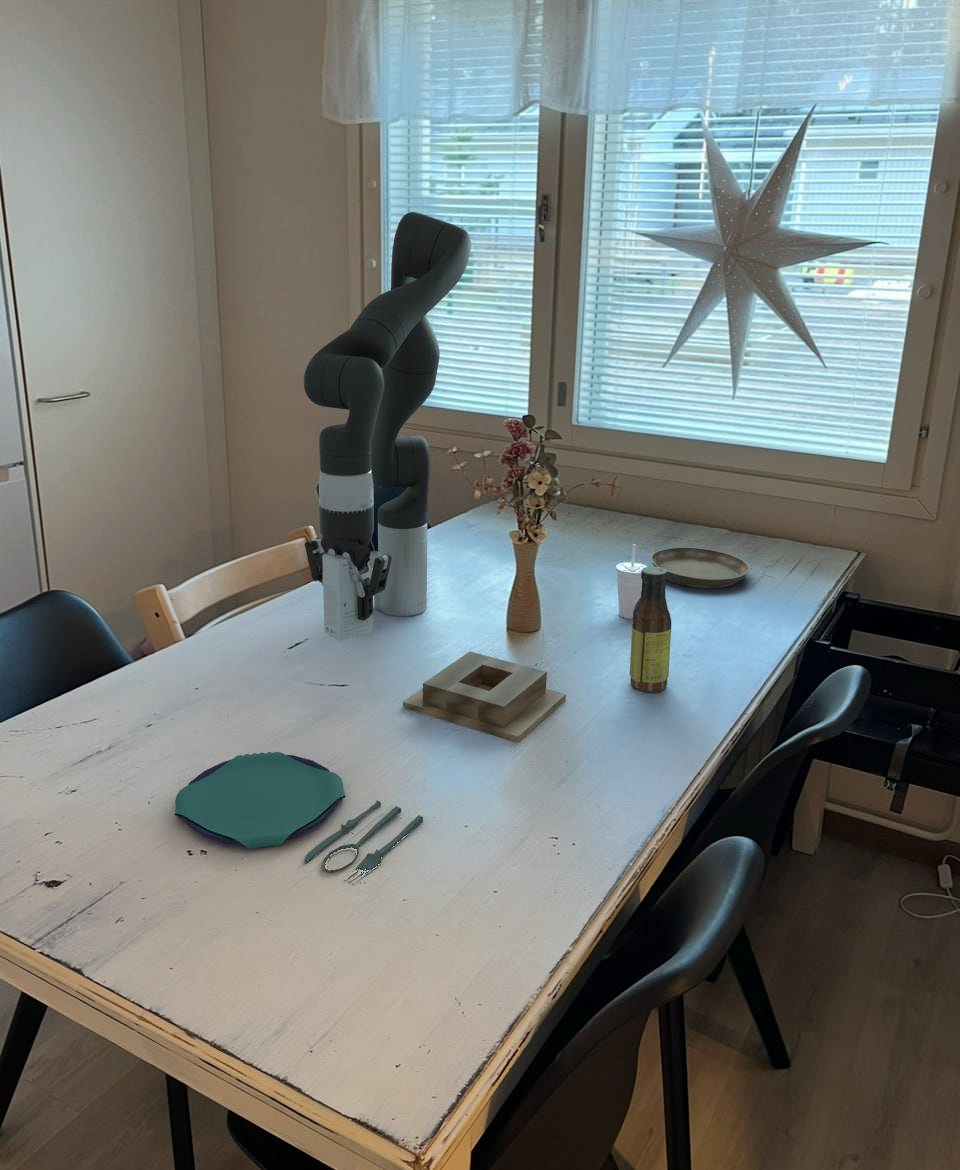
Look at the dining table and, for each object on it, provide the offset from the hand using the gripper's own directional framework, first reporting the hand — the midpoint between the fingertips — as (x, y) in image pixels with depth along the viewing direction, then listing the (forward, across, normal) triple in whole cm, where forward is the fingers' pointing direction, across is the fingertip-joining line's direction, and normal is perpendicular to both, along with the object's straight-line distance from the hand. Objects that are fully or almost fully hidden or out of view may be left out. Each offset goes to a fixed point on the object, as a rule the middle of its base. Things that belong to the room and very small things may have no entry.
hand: (348, 613), depth 143 cm
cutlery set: (+17, -10, +26) cm, 32 cm away
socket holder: (+16, -15, -14) cm, 26 cm away
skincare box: (+3, 0, 0) cm, 3 cm away
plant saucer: (+17, -24, -91) cm, 96 cm away
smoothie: (+17, -20, -61) cm, 66 cm away
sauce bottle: (+16, -34, -34) cm, 51 cm away
